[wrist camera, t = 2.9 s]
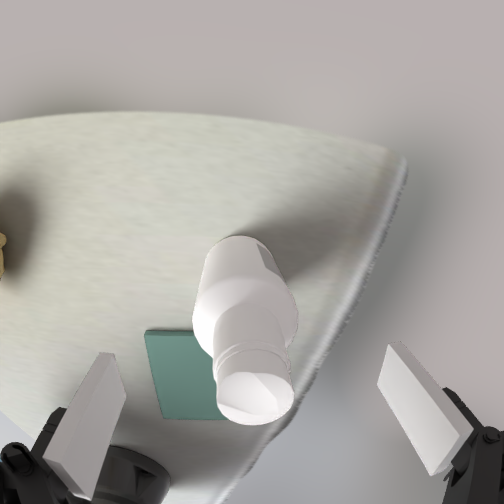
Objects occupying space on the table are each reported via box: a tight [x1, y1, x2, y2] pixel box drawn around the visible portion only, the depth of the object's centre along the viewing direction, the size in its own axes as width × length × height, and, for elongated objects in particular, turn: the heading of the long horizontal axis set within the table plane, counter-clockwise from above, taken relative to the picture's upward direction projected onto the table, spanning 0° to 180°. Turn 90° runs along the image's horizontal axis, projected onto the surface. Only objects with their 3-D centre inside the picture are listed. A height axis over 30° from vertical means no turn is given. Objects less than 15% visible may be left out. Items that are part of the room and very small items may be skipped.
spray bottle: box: [192, 235, 298, 425], centre depth 20 cm, size 7×7×18 cm
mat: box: [144, 331, 229, 420], centre depth 32 cm, size 13×13×1 cm
